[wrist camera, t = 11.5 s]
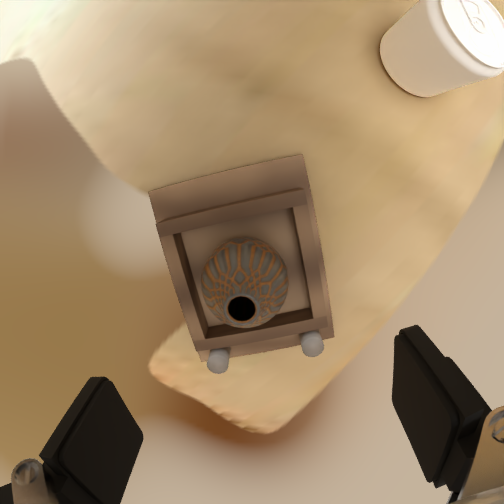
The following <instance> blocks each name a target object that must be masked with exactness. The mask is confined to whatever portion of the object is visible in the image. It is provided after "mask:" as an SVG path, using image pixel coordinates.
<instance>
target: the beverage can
mask: <svg viewBox="0 0 504 504" xmlns="http://www.w3.org/2000/svg"><path fill="white" fill-rule="evenodd" d="M380 55H381V59H382V62H383V65H384V67H385V69H386V71H387V72H388V74H389V75H390V77H391V78H392V79H393V80H394V81H395V82H396V83H397V84H398V85H399V86H400V87H401V88H403V89H404V90H406V91H407V92H409V93H411V94H413V95H416V96H420V97H432V96H435V95H438V94H441V93H444V92H447V91H450V90H453V89H456V88H459V87H462V86H466V85H469V84H472V83H475V82H479V81H482V80H485V79H489V78H492V77H495V76H497V75H499V74H500V73H502V71H503V70H504V20H503V18H502V16H501V15H500V13H499V12H498V11H497V9H496V8H495V7H494V6H493V5H492V4H491V3H490V2H489V1H488V0H419V1H418V2H417V3H416V4H415V5H414V6H413V7H412V8H411V9H410V10H409V11H407V12H406V13H405V14H404V15H403V16H402V17H401V18H400V19H399V20H398V21H397V22H396V23H395V24H394V25H393V26H392V27H391V28H390V29H389V30H388V31H387V32H386V33H385V34H384V36H383V37H382V40H381V43H380Z"/></svg>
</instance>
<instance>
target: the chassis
mask: <svg viewBox="0 0 504 504" xmlns="http://www.w3.org/2000/svg"><path fill="white" fill-rule="evenodd" d="M148 193H149V197H150V201H151V204H152V208H153V212H154V216H155V220H156V223H157V224H156V227H157V231H158V234H159V237H160V241H161V245H162V248H163V251H164V255H165V258H166V262H167V265H168V268H169V271H170V275H171V278H172V281H173V284H174V287H175V290H176V293H177V296H178V300H179V303H180V306H181V308H182V312H183V314H184V317H185V320H186V323H187V326H188V329H189V332H190V335H191V337H192V340H193V343H194V346H195V348H196V351H198V354H199V357H200V359H201V362H204V361H207V367H208V369H209V370H210V371H211V372H213V373H217V374H220V373H224V372H225V371H226V370H227V369H228V364H229V358H231V357H238V356H244V355H250V354H255V353H261V352H267V351H272V350H277V349H282V348H287V347H292V346H297V345H301V346H302V350H303V353H304V354H305V355H306V356H309V357H315V356H318V355H319V354H321V353H322V351H323V349H324V344H323V341H322V340H324V339H329V338H333V337H334V330H333V322H332V314H331V307H330V300H329V293H328V287H327V280H326V274H325V267H324V261H323V255H322V249H321V243H320V238H319V232H318V227H317V221H316V216H315V211H314V205H313V200H312V195H311V190H310V185H309V181H308V176H307V171H306V167H305V162H304V157H303V154H301V155H296V156H291V157H286V158H281V159H276V160H271V161H266V162H262V163H257V164H253V165H248V166H244V167H239V168H235V169H231V170H227V171H223V172H219V173H215V174H211V175H207V176H203V177H199V178H195V179H191V180H188V181H184V182H180V183H177V184H173V185H170V186H166V187H163V188H159V189H156V190H152V191H149V192H148ZM240 237H251V238H256V239H259V240H262V241H264V242H266V243H268V244H269V245H271V246H272V247H273V248H274V249H275V250H276V251H277V252H278V253H279V255H280V256H281V258H282V259H283V261H284V263H285V266H286V268H287V272H288V278H289V287H288V293H287V296H286V299H285V302H284V304H283V305H282V307H281V309H280V310H279V311H278V313H277V314H276V315H275V316H274V317H273V318H271V319H270V320H269V321H267V322H266V323H264V324H261V325H259V326H256V327H251V328H238V327H233V326H230V325H228V324H225V323H224V322H222V321H220V320H219V319H218V318H217V317H215V316H214V315H213V314H212V312H211V311H210V310H209V308H208V307H207V305H206V303H205V301H204V298H203V294H202V289H201V276H202V271H203V268H204V265H205V263H206V261H207V259H208V258H209V256H210V255H211V254H212V252H213V251H214V250H215V249H216V248H217V247H219V246H220V245H221V244H223V243H224V242H226V241H229V240H231V239H235V238H240Z"/></svg>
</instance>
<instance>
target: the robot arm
mask: <svg viewBox="0 0 504 504" xmlns="http://www.w3.org/2000/svg"><path fill="white" fill-rule="evenodd" d="M392 402H393V406H394V408H395V410H396V412H397V415H398V417H399V419H400V421H401V423H402V425H403V428H404V430H405V432H406V434H407V437H408V439H409V441H410V443H411V445H412V448H413V450H414V452H415V455H416V457H417V459H418V462H419V464H420V466H421V469H422V471H423V473H424V476H425V478H426V480H427V482H429V483H430V482H432V481H433V483H434V486H435V488H438V487H441V486H443V485H445V484H446V485H447V487H448V489H449V491H451V494H450V496H449V499H448V501H447V503H446V504H504V406H502V407H498V408H496V409H495V410H493V411H492V410H491V409H490V407H489V406H488V405H487V403H486V402H485V401H484V399H483V398H482V397H481V395H480V394H479V393H478V392H477V390H476V389H475V388H474V386H473V385H472V384H471V382H470V381H469V380H468V379H467V378H466V376H465V375H464V374H463V372H462V371H461V370H460V369H459V368H458V366H457V365H456V364H455V362H453V360H452V359H451V358H450V357H444V356H443V354H442V353H441V352H440V351H439V349H438V348H437V347H436V346H435V345H434V343H433V342H432V341H431V340H430V338H429V337H428V336H427V335H426V334H425V332H424V331H423V330H422V329H421V328H420V327H419V326H418V325H414V326H411V327H408V328H404V329H401V330H400V332H399V335H396V336H395V339H394V370H393V388H392ZM142 442H143V433H142V431H141V429H140V428H139V426H138V425H137V423H136V421H135V420H134V418H133V417H132V415H131V413H130V412H129V410H128V408H127V407H126V405H125V403H124V402H123V400H122V398H121V396H120V395H119V393H118V391H117V389H116V388H115V386H114V384H113V382H111V381H109V379H108V378H106V377H91V378H90V379H89V380H88V381H87V383H86V384H85V386H84V387H83V388H82V390H81V391H80V393H79V394H78V396H77V397H76V399H75V400H74V402H73V403H72V405H71V406H70V408H69V409H68V411H67V412H66V414H65V415H64V417H63V418H62V420H61V421H60V423H59V425H58V426H57V427H56V429H55V431H54V432H53V434H52V435H51V437H50V439H49V440H48V442H47V443H46V445H45V446H44V448H43V450H42V451H41V453H40V455H39V456H40V457H41V459H42V460H43V461H44V463H43V464H41V463H40V462H39V461H38V460H36V459H30V458H29V459H25V460H23V461H21V462H20V463H18V464H17V465H16V467H15V468H14V469H13V472H12V474H11V483H9V484H7V485H4V486H2V487H0V504H120V503H121V500H122V497H123V494H124V491H125V489H126V486H127V482H128V480H129V477H130V474H131V472H132V469H133V466H134V464H135V461H136V458H137V455H138V453H139V449H140V447H141V444H142Z"/></svg>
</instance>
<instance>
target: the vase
mask: <svg viewBox="0 0 504 504" xmlns="http://www.w3.org/2000/svg"><path fill="white" fill-rule="evenodd" d="M288 287H289V278H288V272H287V268H286V266H285V263H284V261H283V259H282V258H281V256H280V255H279V253H278V252H277V251H276V250H275V249H274V248H273V247H272V246H271V245H269V244H268V243H266V242H264V241H262V240H259V239H256V238H251V237H240V238H235V239H231V240H229V241H226V242H224V243H223V244H221V245H220V246H219V247H217V248H216V249H215V250H214V251H213V252H212V254H211V255H210V256H209V258H208V259H207V261H206V263H205V265H204V268H203V271H202V276H201V289H202V294H203V298H204V301H205V303H206V305H207V307H208V308H209V310H210V311H211V312H212V314H213V315H214V316H215V317H217V318H218V319H219V320H220V321H222V322H224V323H225V324H228V325H230V326H233V327H238V328H251V327H256V326H259V325H261V324H264V323H266V322H267V321H269V320H270V319H271V318H273V317H274V316H275V315H276V314H277V313H278V311H279V310H280V309H281V307H282V305H283V304H284V302H285V299H286V296H287V293H288Z"/></svg>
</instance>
